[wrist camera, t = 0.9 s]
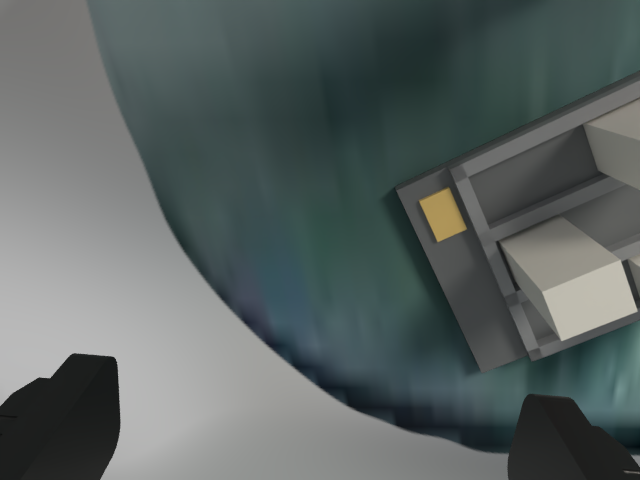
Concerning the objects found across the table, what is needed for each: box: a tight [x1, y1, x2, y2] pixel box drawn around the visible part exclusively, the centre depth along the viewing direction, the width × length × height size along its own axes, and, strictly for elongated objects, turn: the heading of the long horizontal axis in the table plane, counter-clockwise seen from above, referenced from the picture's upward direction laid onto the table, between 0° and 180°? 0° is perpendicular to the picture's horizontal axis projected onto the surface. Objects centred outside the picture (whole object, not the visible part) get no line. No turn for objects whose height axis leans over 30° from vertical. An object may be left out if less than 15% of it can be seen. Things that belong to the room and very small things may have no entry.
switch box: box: [395, 71, 640, 373], centre depth 33 cm, size 20×15×2 cm
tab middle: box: [498, 214, 638, 341], centre depth 30 cm, size 4×3×8 cm
